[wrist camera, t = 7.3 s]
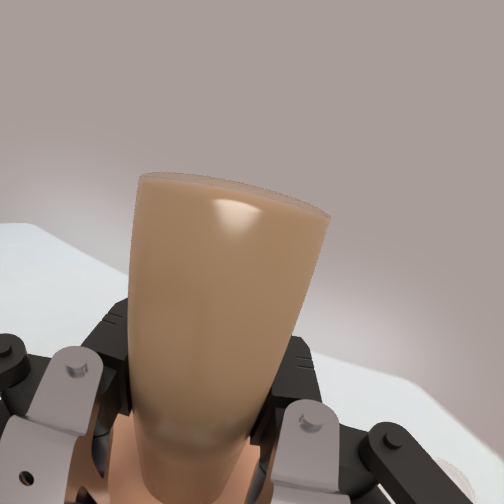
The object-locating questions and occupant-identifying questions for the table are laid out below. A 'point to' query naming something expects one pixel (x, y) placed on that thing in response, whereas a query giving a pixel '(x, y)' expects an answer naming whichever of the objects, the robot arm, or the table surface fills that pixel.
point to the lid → (206, 332)
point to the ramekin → (454, 476)
